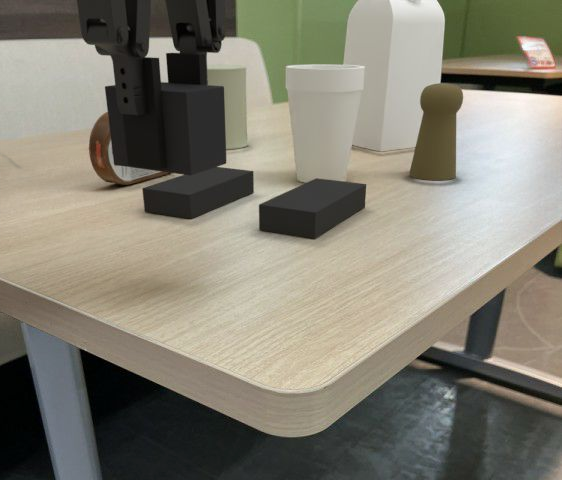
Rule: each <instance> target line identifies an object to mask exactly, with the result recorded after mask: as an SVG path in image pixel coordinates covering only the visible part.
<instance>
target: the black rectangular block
mask: <svg viewBox="0 0 562 480" xmlns="http://www.w3.org/2000/svg"><path fill="white" fill-rule="evenodd" d="M161 90H162V91H161V95H162V108H163V121H164V134H165V146H166V159H167V168H164V169H161V170H159V169H152V168H145V167H138V166H130V165H128V160H127V151H126V142H125V132H124V123H123V114H121V113H120V111H119V108H118V105H117V94H116V87H115V84H112V85H106V86H105V85H104V92H105V93H104V94H105V101H106V109H107V112H108V118H109V127H110V135H111V143H112V152H113V160H114V165H118V166H126V167H133V168H140V169H147V170H155V171H162V172H169V173H168V174H178V175H194V174H197V173H200V172H203V171H206V170H209V169H212V168H215V167H221V166H223V165H226V164H227V150H226V132H225V101H224V86H212V85H197V84H182V83H168V81H167V82H165V81H161Z"/></svg>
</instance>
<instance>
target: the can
mask: <svg viewBox="0 0 562 480" xmlns="http://www.w3.org/2000/svg"><path fill="white" fill-rule="evenodd" d="M207 76H208V78H207V80H208V85H212V86H224V101H225V132H226V151H229V150H238V149H243V148H247V147H248V146H249V141H248V123H247V122H248V121H247V119H248V117H247V66H246V65H239V64H238V65H237V64H207Z"/></svg>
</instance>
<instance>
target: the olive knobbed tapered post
mask: <svg viewBox="0 0 562 480" xmlns="http://www.w3.org/2000/svg"><path fill="white" fill-rule="evenodd" d="M463 101H464V93H463V90H462V88H461V87H460V86H459V85H456V84H453V83H443V82H442V83H441V82H440V83H438V84H432V85H428V86H427V87H425V88H424V90H423V91H422V94H421V97H420V105H421V108H422V110H423V117H422V121H421V125H420V130H419V134H418V138H417V143H416V147H414V151H413V156H412V159H411V160H412V161H411V165H410V170H409V176H410V177H411V178H414V179H419V180H425V181H449V180H454V179H455V178H456V177H457V113H458V112H459V111H460V109H461V108H462V105H463Z"/></svg>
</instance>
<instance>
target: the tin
mask: <svg viewBox="0 0 562 480" xmlns="http://www.w3.org/2000/svg"><path fill="white" fill-rule="evenodd" d="M88 155H89V160H90V163H91V166H92V168H93V170H94V172H95V174H96V175H97V176H98V177H99V178H100V179H101V180H103V181H104V182H107V183H110V184H117V185H124V186H127V185H128V186H129V185H133V184H137V183H139V182H143V181H147V180H151V179H154V178H159V177H161V176H166V175H168V174H170V173H169V172H162V171H155V170H147V169H140V168H133V167H126V166H118V165H114V160H113V152H112V143H111V135H110V127H109V118H108V111H106V112H104V113H103V114H101V115H100V116H99V117H98V119H97V120H96V121H95V123H94V124H93V127H92V129H91V131H90V134H89V140H88Z"/></svg>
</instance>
